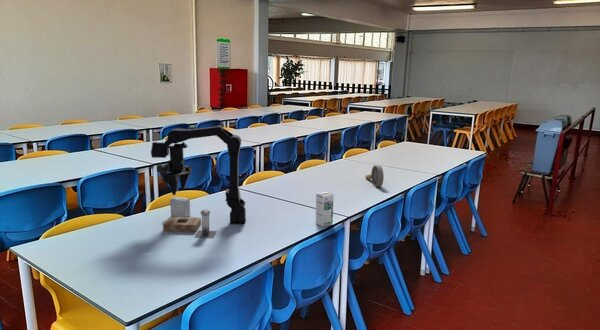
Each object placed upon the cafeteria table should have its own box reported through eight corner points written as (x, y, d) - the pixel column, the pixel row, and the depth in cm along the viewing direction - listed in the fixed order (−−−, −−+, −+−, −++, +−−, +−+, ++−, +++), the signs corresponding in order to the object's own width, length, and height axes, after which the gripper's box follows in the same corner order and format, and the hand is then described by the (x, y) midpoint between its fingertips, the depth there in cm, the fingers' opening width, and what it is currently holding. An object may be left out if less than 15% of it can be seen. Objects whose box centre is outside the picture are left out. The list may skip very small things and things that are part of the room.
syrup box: (322, 226, 197) (323, 196, 194) (314, 222, 202) (316, 192, 198) (332, 224, 200) (334, 194, 197) (324, 220, 205) (326, 190, 202)
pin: (211, 232, 186) (210, 210, 184) (209, 236, 182) (208, 213, 180) (202, 232, 186) (201, 210, 184) (200, 235, 182) (199, 213, 180)
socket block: (200, 225, 195) (200, 217, 194) (196, 232, 186) (196, 225, 185) (169, 224, 195) (169, 216, 194) (163, 231, 186) (162, 224, 185)
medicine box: (190, 215, 207) (190, 198, 205) (185, 218, 202) (185, 200, 201) (175, 213, 209) (175, 196, 207) (170, 216, 205) (169, 199, 203)
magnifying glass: (364, 167, 283) (378, 164, 259) (369, 166, 284) (383, 164, 259) (365, 187, 282) (379, 186, 258) (369, 187, 283) (384, 186, 258)
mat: (217, 231, 188) (217, 230, 188) (213, 238, 180) (213, 238, 180) (198, 231, 188) (198, 230, 188) (194, 238, 180) (194, 237, 180)
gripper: (168, 152, 202) (170, 185, 205) (149, 161, 184) (151, 197, 187) (191, 153, 200) (193, 186, 204) (174, 162, 182) (176, 198, 186)
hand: (178, 192), depth 195 cm, fingers open, 9 cm apart
